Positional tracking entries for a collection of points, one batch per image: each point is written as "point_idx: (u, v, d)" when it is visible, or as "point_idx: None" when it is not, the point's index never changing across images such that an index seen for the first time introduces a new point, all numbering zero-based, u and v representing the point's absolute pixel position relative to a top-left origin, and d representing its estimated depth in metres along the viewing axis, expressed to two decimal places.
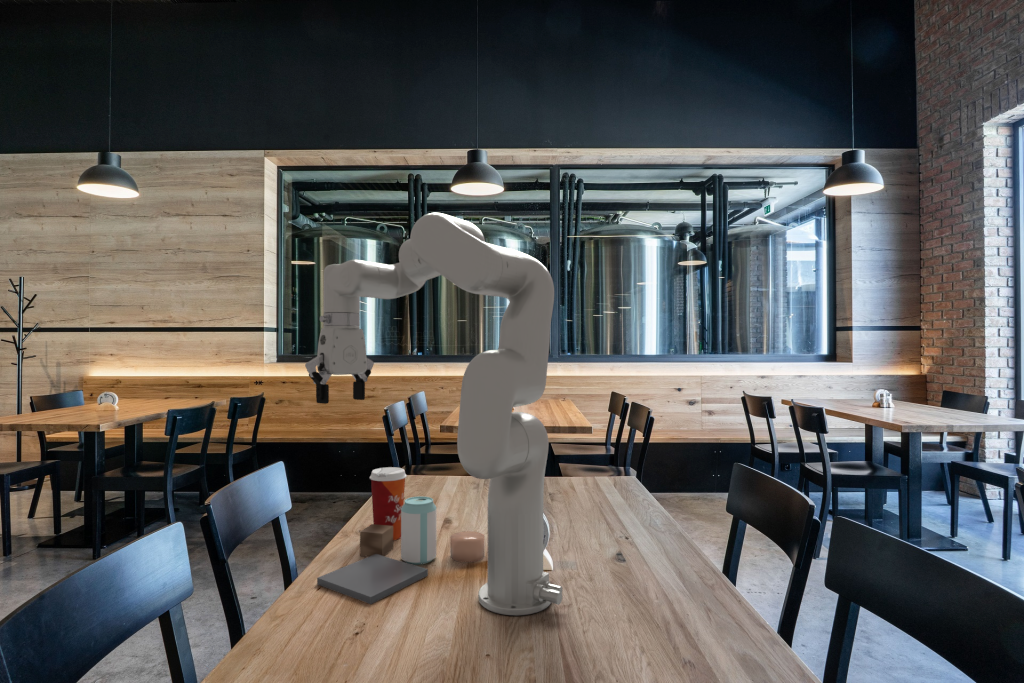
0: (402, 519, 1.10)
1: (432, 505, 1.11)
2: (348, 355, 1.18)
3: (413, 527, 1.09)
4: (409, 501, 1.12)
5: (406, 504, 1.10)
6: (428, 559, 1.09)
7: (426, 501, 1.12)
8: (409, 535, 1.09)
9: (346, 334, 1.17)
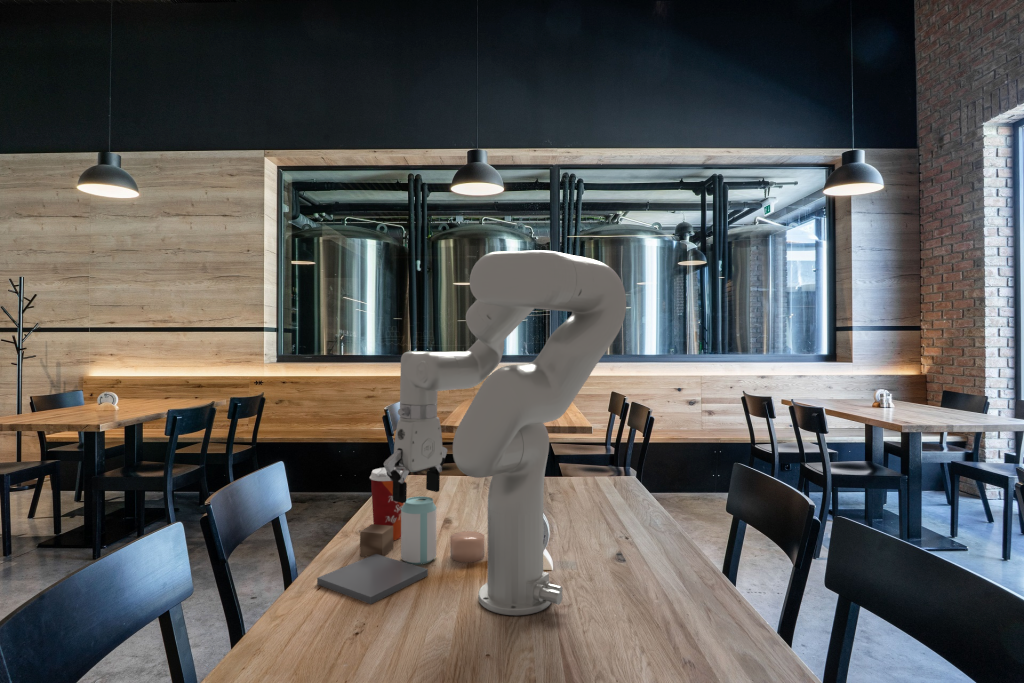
0: (402, 519, 1.10)
1: (432, 505, 1.11)
2: (426, 449, 1.10)
3: (413, 527, 1.09)
4: (409, 501, 1.12)
5: (406, 504, 1.10)
6: (428, 559, 1.09)
7: (426, 501, 1.12)
8: (409, 535, 1.09)
9: (424, 427, 1.10)
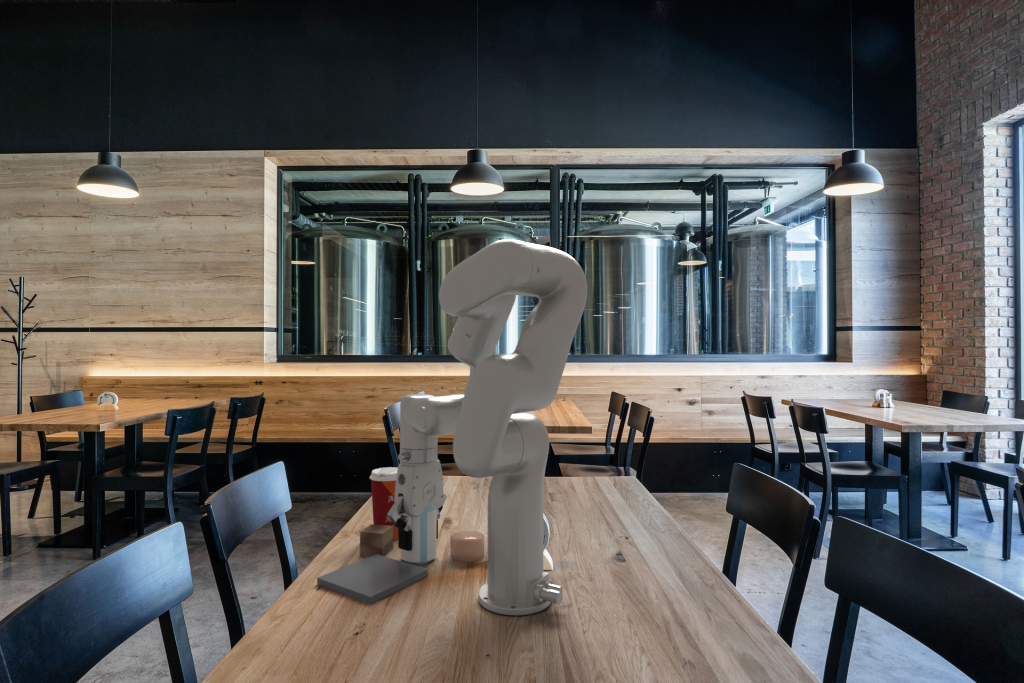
0: None
1: (432, 505, 1.11)
2: (427, 493, 1.10)
3: (413, 527, 1.09)
4: None
5: None
6: (428, 559, 1.09)
7: None
8: None
9: (425, 471, 1.10)
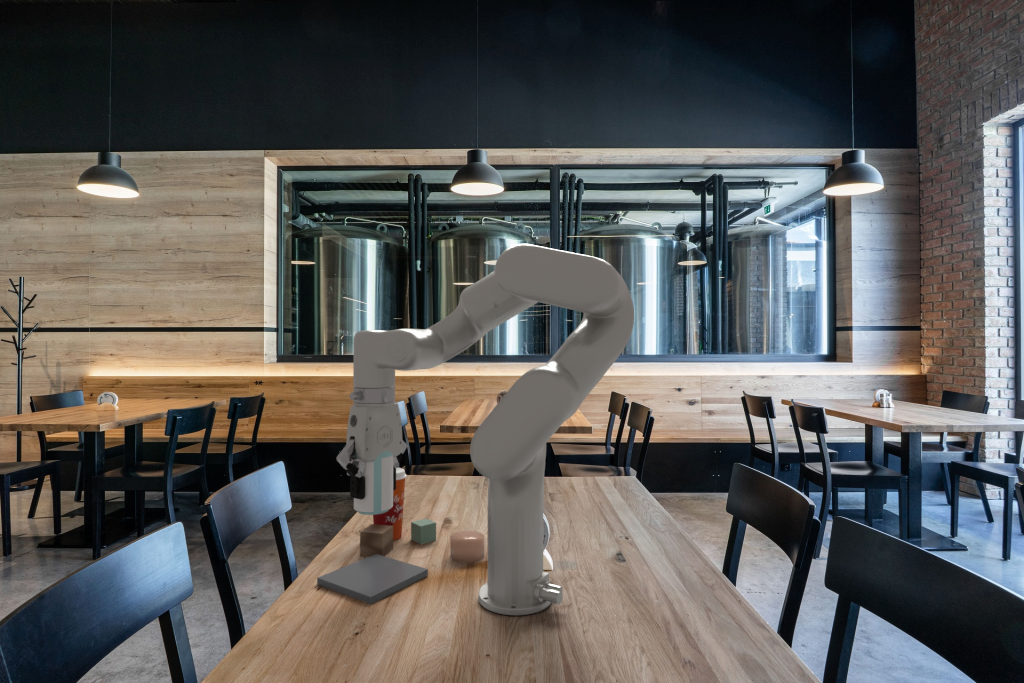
0: None
1: (388, 451, 1.01)
2: (382, 437, 1.00)
3: (366, 473, 0.99)
4: None
5: None
6: (383, 509, 1.00)
7: None
8: None
9: (380, 413, 1.00)
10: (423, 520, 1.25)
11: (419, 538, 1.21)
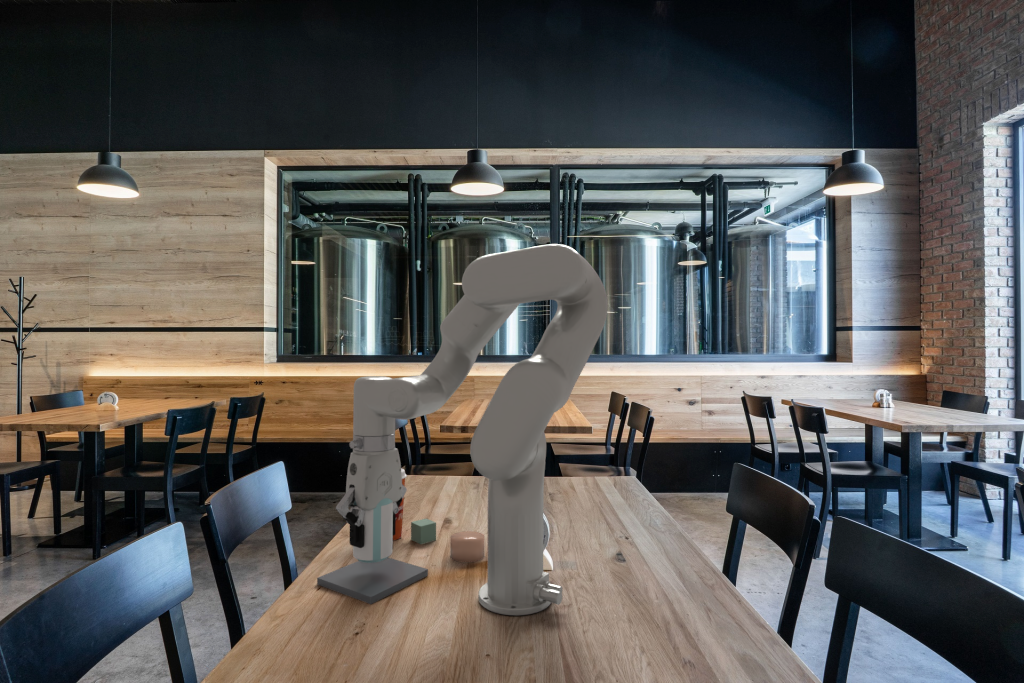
0: None
1: (387, 498, 1.01)
2: (382, 485, 1.00)
3: (366, 521, 0.99)
4: None
5: None
6: (382, 557, 0.99)
7: None
8: None
9: (380, 461, 1.00)
10: (423, 520, 1.25)
11: (419, 538, 1.21)
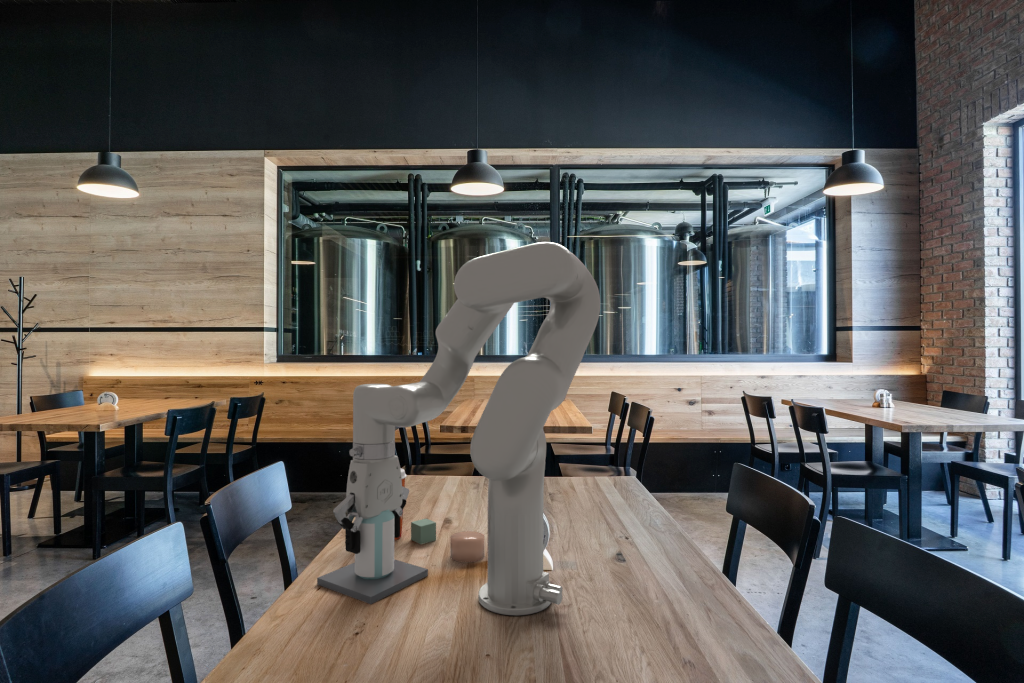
0: None
1: (389, 514, 1.01)
2: (382, 492, 1.00)
3: (367, 538, 0.99)
4: None
5: None
6: (383, 573, 0.99)
7: None
8: (362, 547, 0.99)
9: (380, 468, 1.00)
10: (423, 520, 1.25)
11: (419, 538, 1.21)
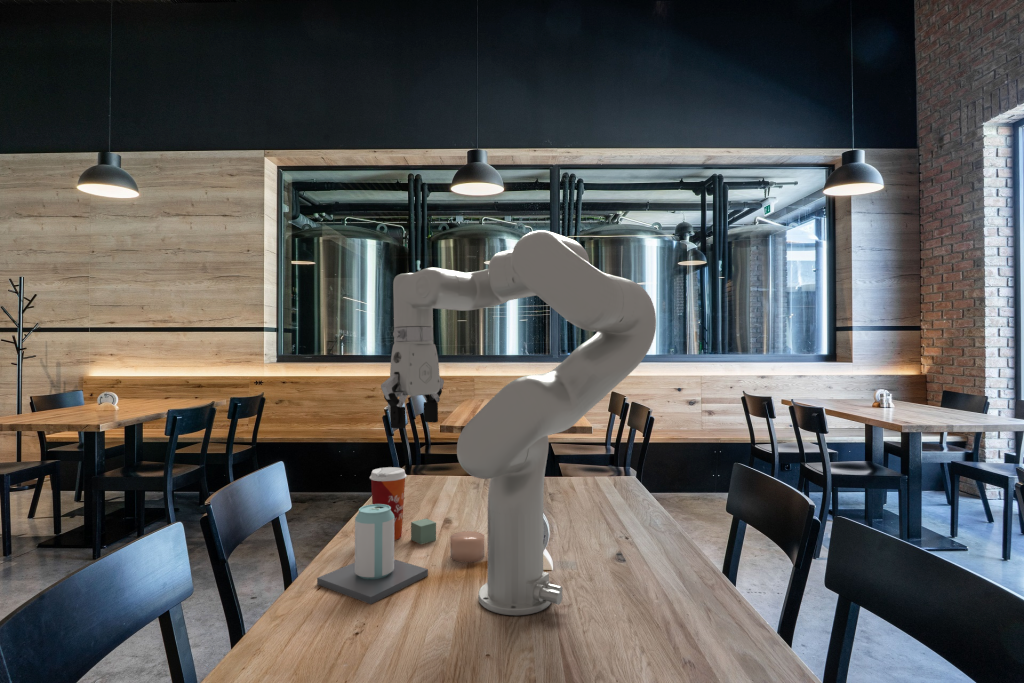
0: (355, 529, 1.00)
1: (389, 514, 1.01)
2: (424, 373, 1.06)
3: (367, 538, 0.99)
4: (364, 509, 1.02)
5: (360, 513, 1.00)
6: (383, 573, 0.99)
7: (383, 509, 1.02)
8: (362, 547, 0.99)
9: (421, 351, 1.06)
10: (423, 520, 1.25)
11: (419, 538, 1.21)
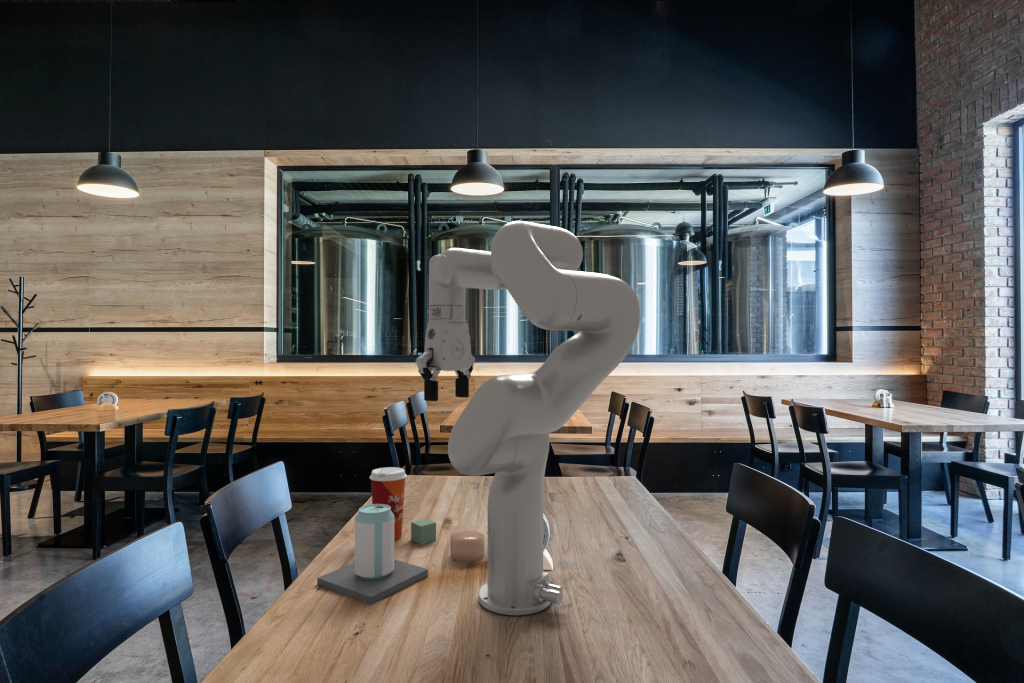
0: (355, 529, 1.00)
1: (389, 514, 1.01)
2: (456, 350, 1.11)
3: (367, 538, 0.99)
4: (364, 509, 1.02)
5: (360, 513, 1.00)
6: (383, 573, 0.99)
7: (383, 509, 1.02)
8: (362, 547, 0.99)
9: (454, 328, 1.11)
10: (423, 520, 1.25)
11: (419, 538, 1.21)
